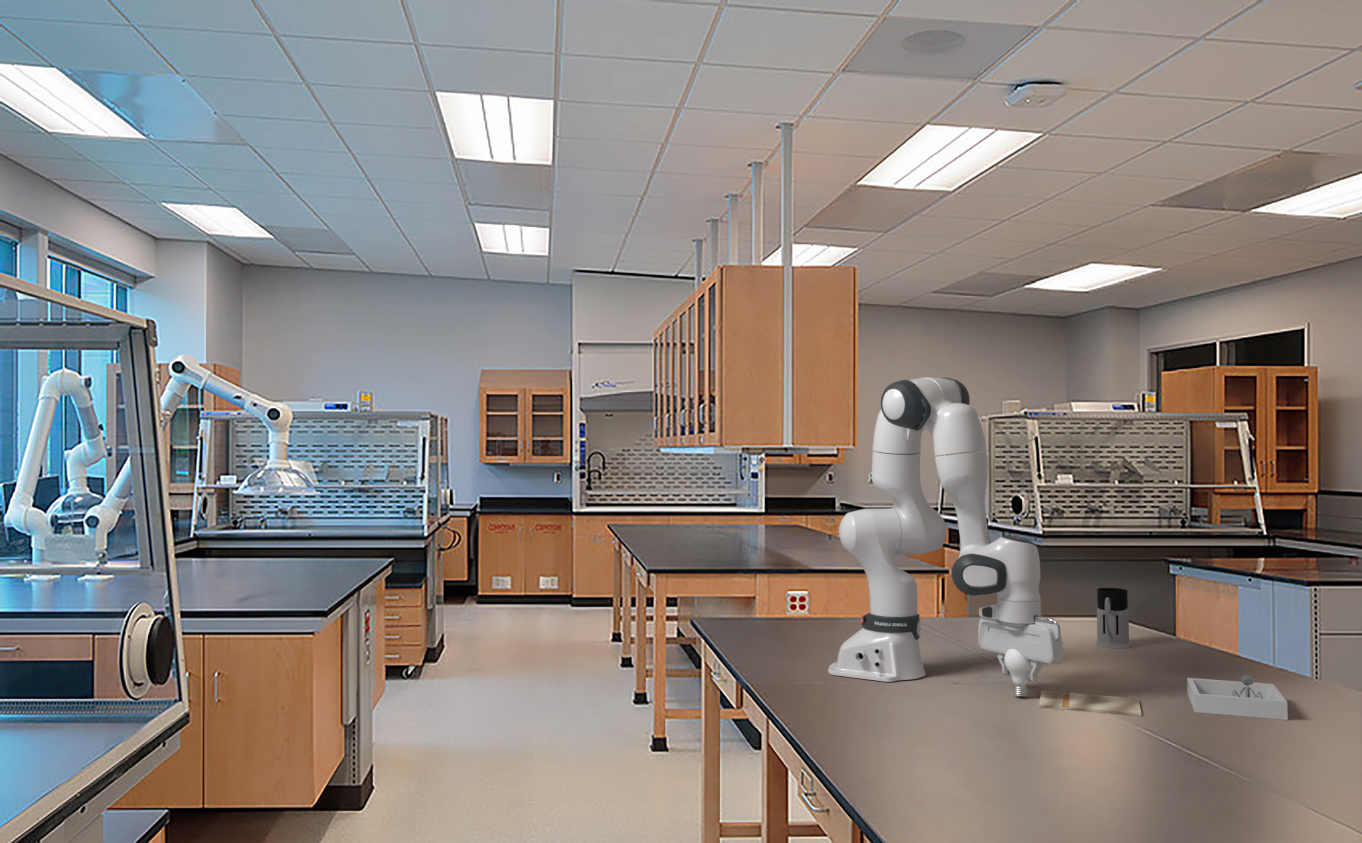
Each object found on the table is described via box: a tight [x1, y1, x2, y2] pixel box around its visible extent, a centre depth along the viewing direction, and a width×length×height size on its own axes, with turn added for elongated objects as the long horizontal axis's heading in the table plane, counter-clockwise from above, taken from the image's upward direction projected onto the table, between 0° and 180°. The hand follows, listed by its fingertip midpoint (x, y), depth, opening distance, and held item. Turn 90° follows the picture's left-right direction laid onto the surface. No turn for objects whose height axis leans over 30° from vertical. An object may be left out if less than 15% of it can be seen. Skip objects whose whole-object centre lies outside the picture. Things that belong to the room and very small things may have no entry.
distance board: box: [1038, 690, 1142, 717], centre depth 204 cm, size 19×13×1 cm
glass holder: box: [1095, 587, 1132, 650], centre depth 264 cm, size 9×14×15 cm, turn 148°
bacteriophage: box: [1232, 674, 1263, 699], centre depth 201 cm, size 7×8×7 cm
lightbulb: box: [1004, 649, 1033, 699], centre depth 210 cm, size 6×6×11 cm
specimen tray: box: [1186, 677, 1289, 721], centre depth 201 cm, size 16×16×4 cm
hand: (1020, 677), depth 210 cm, fingers closed on lightbulb, 5 cm apart
